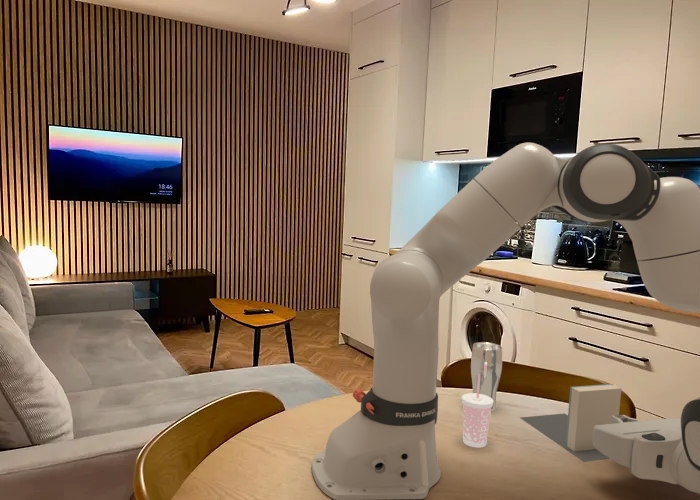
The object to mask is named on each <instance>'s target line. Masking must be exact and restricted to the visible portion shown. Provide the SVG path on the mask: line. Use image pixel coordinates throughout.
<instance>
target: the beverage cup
mask: <svg viewBox="0 0 700 500" xmlns="http://www.w3.org/2000/svg"><path fill="white" fill-rule="evenodd" d="M480 375H481V374H478V383H477V393H473V392H469V393H464V394H463V395H462V396H461V403H462V442H463V443H464V444H465V445H467V446H469V447H470V448H471V447H472V448H484V447H486V446H487V442H488V436H489V433H488V432H489V429H490V428H489V427H490V419H491V414H492V412H491V407H492V406H493V399H492V398H490V397H489V396H486V395H483V394H479V389H480Z"/></svg>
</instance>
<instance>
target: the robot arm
mask: <svg viewBox="0 0 700 500" xmlns="http://www.w3.org/2000/svg"><path fill="white" fill-rule="evenodd" d="M549 207H553V208H555V209H557V210H559V211H561V212H562V213H564V214H566V215H567V216H570V217H572V218H574V219H575V220H580V221H584V222H590V223H602V222H607V221H615V223H616V222H617V223H618V224H620V225H621V226H622V227H623V228H624V230H625V231H626V232H627V234H628V236H629V239H630V240H631V242H632V246H633V251H634V255H635V259H636V262H637V266H638V270H639V274H640V277H641V280H642V282H643V285H644V287H645V289H646V290H647V292H648V294H649V295H650V296H651V297H652V298H654V300H656V301H657V302H659V303H660V304H661V305H664V306H666V307H667V308H671V309H673V310H675V311H680V312H685V313H693V314H700V187H699V186H698V185H697V184H696V183H695V182H694V181H692V180H691V179H688V178H684V177H682V176H666V177H664V176H663V177H660V176H659V175H658V174H657V173H656V172H655V171H654V170H652V169H651V167H649V166H648V165H647V164H646V163H644V161H643V160H642V159H641V158H640V157H639V156H637V154H635V153H634V152H633V151H631V150H630V149H629V148H626V147H624V146H622V145H617V144H613V143H600V144H594V145H591V146H588V147H586V148H584V149H582V150H581V151H580V152H578V153H576V154H575V155H574V156H572V157H570V158H560V157H558V156H555V155H554V153H552V151H550V150H549V149H548V148H546V147H544V146H543V145H540V144H537V143H535V142H523V143H519V144H518V145H515V146H514V147H513V148H510V149H509V150H508V151H506V152H505V153H503V154H502V155H500V156H499V157H498V158H496V159H495V160H494V161H492V162H491V163H490V164H488V165H487V166H486V167H484V169H483V170H481V171H480V172H479V173H478V174H476V176H474V177H473V178H472V179H471V180H470V181H469V182H468V183H467V184H466V185H465V186H463V188H461V190H460V191H458V192H457V193H456V194H455V195H454V196H453V197H451V199H449V201H447V203H446V204H444V205H443V206H442V207H441V209H440V210H438V211H437V212H436V213H435V215H433V216H432V217H431V218H430V219H429V220H428V221H427V222H426V224H424V225H423V226H422V228H421V229H420V230H419V231H417V232H416V233H415V235H414V236H413V237H411V239H409V240H408V241H407V242H406V243H405V244H404V245H403V246H402V247H401V248H400V249H399V250H398V251H396V252H395V253H393V254H391V255H390V256H388V257H386V258H384V259H383V260H382V261H381V262H380V263H379V264H378V265H377V266H376V268H375V269H374V271H373V273H372V275H371V279H370V283H369V295H370V300H371V301H370V302H371V322H372V332H373V333H372V334H373V349H374V351H373V365H372V366H373V367H372V370H373V371H372V385H371V386H372V387H371V388H370V389H369V390H368V392H367V393H365V392H364V390H363V389H362V388H360V387H356V388H355V389H354V390H352V397H353V398H354V399H355V401H356V402H357V403H360V410H358V411H357V412H356V413H354V414H353V415H351V417H349V418H348V419H347V420H345V421H344V422H342V423H340V425H338V426H336V427H335V428H333V430H332V431H331V432H330V434H329V436H328V439H327V442H326V447H325V451H323V452H319V453H316V454H315V456H314V457H313V459H312V463H311V472H312V476H313V479H314V481H315V482H316V485H317V487H319V489H320V490H321V491H322V492H323V493H324V494H325V495H326V496H328V497H329V498H331V499H333V500H424V499H426V498H427V496H428V494H429V492H430V489H431V488H432V487H433V486H434V485H436V484H437V483H438V482H439V480H440V479H441V475H442V474H441V469H440V465H439V460H438V454H437V443H436V441H437V440H436V424H437V421H438V411H439V410H438V409H439V394H438V392H437V384H438V383H437V381H438V368H439V367H438V365H439V349H440V348H439V319H440V318H439V316H440V315H439V314H440V313H439V310H440V300H441V297H442V296H443V295H444V294H445V293H446V292H447V291H448V290H449V289H450V288H452V287H453V286H454V285H455V284H456V283H458V281H460V280H462V279H463V278H464V277H465V276H466V275H468V274H469V273H470V272H471V271H473V270H474V269H475V268H476V267H478V266H479V265H481V263H483V262H484V261H486V260H487V259H488V258H489V257H490V256H491V255H493V254H494V252H496V251H497V250H498V249H499V248H500V247H501V246H502V245H504V244H505V243H506V242H507V241H508V240H510V238H512V237H513V236H515V234H516V233H517V232H518V231H519V230H521V228H523V227H524V226H525V225H526V224H528V222H530V220H532V219H534V217H535V216H537V215H538V214H539V213H540V212H542V211H543V210H545V209H547V208H549ZM592 440H593V445H594V447H595V448H596V449H597V450H598V451H600V452H601V453H603V454H604V455H606V456H607V457H609V458H610V460H612V461H613V462H615V463H617V464H618V465H620V466H623V467H626V468H628V469H629V468H630V469H631V470H630V472H631V475H633V476H635V477H636V478H638V479H641V480H651V481H653V480H654V481H660V482H665V483H669V484H672V485H679V486H681V487H682V488H684V489H686V490H687V491H689V492H692V493H695V494H698V495H700V397H697V398H694V399H693V400H690V401H688V402H687V403H686V404H685V405H684V407H683V408H682V411H681V415H680V417H670V418H657V419H649V420H648V419H647V420H642V419H637V418H633V417H630V416H628V415H625V414H619V415H618V416H610V424H603V425H596V426H594V430H593V439H592Z"/></svg>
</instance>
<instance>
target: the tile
mask: <svg viewBox="0 0 700 500" xmlns="http://www.w3.org/2000/svg"><path fill="white" fill-rule="evenodd" d="M621 397H622V387H619V386H617V385H615V384H613V383H609V384H594V385H593V384H592V385H580V386H579V385H578V386H570V391H569V400H568V409H567V410H568V411H567V413H568V414H567V415H568V422H567V433H566V445H565V446H567V447H568V448H570V449H571V450H573V451H582V450H591V449H596V448H595V447H594V445H593V440H592V439H593V430H594V426H596V425H603V424H610V416H618V415H620V406H621Z"/></svg>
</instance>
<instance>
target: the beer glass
mask: <svg viewBox="0 0 700 500" xmlns="http://www.w3.org/2000/svg"><path fill="white" fill-rule="evenodd" d="M471 350H472V351H471V358H470V360H471V361H470V375H471V383H472V393H477V383H478V374H481V375H480V389H479V394H483V395H486V396H489V397H490V398H492V399H493V406H492V407H491V413H494V412H496V411H497V410H498V406H497V391H498V387H499V383H500V379H501V377H502V376H501V375H502V370H503V347H502V346H501V345H500V344H497V343H494V342H489V341H488V342H487V341H481V342H480V341H479V342H474V343H473V344H472V349H471Z"/></svg>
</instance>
